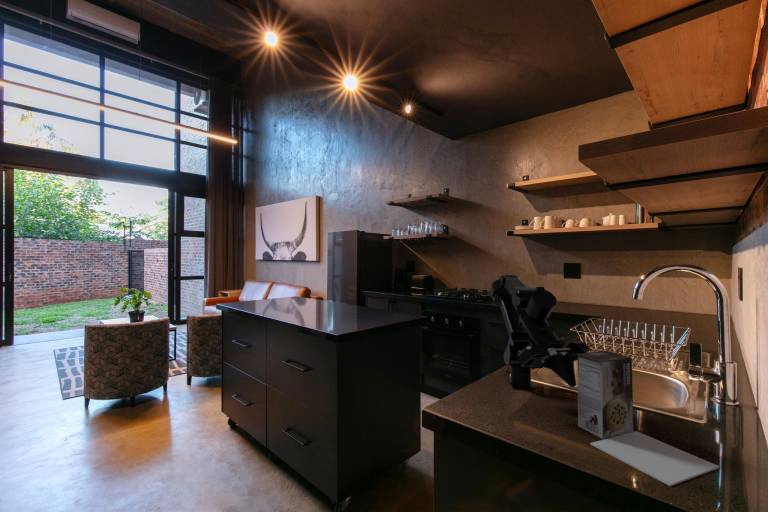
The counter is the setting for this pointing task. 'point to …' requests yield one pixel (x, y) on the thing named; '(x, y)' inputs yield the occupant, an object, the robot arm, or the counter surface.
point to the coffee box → (605, 393)
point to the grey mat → (655, 457)
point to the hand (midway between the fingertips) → (573, 386)
